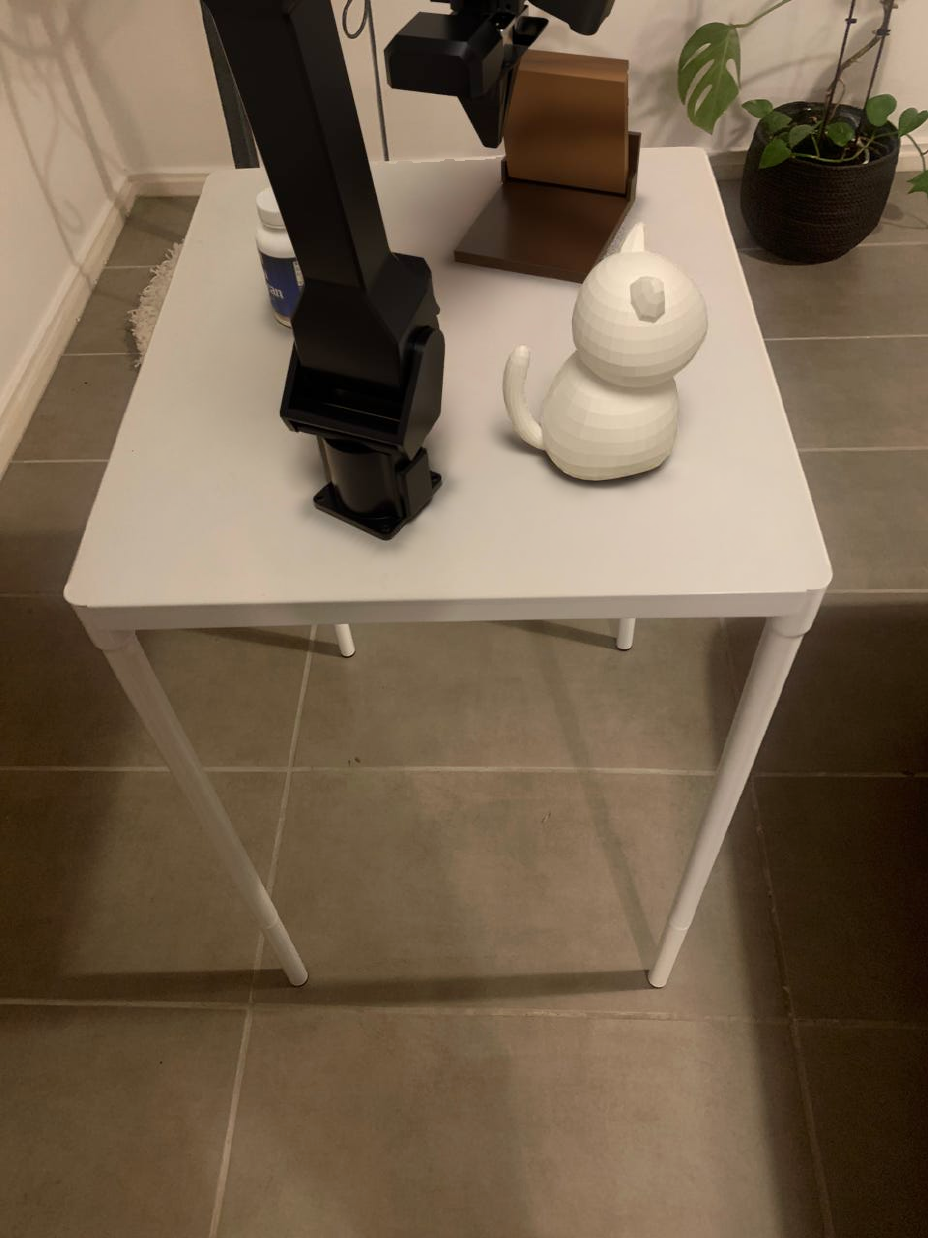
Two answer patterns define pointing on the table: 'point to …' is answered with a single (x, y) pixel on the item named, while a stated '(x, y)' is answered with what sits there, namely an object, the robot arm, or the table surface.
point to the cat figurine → (616, 367)
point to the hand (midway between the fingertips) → (492, 145)
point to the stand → (548, 225)
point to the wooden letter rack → (569, 121)
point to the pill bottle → (277, 258)
